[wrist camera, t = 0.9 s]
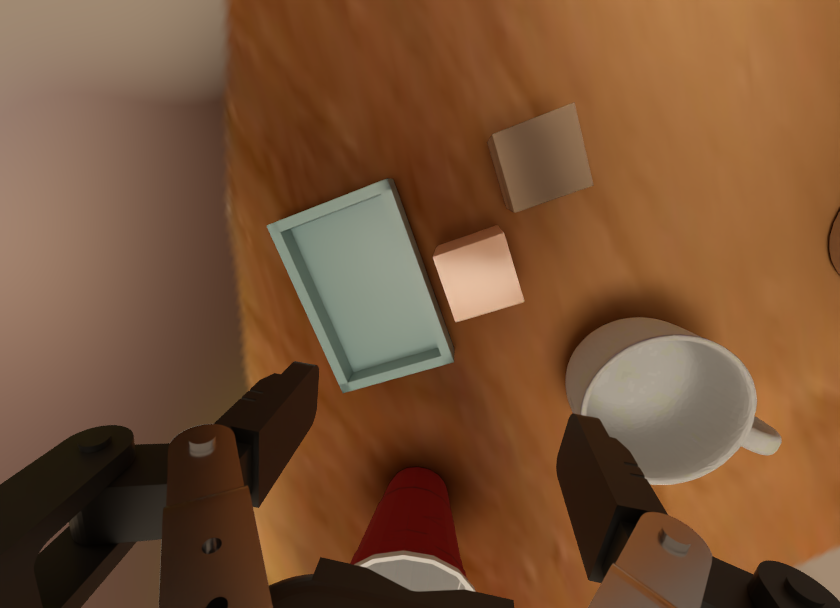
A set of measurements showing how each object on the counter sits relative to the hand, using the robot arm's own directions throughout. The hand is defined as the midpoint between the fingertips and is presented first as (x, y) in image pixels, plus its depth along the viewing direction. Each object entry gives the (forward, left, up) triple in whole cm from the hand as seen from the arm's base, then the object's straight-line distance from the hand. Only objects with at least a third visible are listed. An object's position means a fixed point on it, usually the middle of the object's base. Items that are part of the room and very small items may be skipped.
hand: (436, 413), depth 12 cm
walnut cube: (-8, -6, -21) cm, 23 cm away
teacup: (-12, +13, -21) cm, 27 cm away
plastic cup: (+10, +20, -21) cm, 30 cm away
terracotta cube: (-2, 0, -21) cm, 21 cm away
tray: (+7, -1, -20) cm, 22 cm away
